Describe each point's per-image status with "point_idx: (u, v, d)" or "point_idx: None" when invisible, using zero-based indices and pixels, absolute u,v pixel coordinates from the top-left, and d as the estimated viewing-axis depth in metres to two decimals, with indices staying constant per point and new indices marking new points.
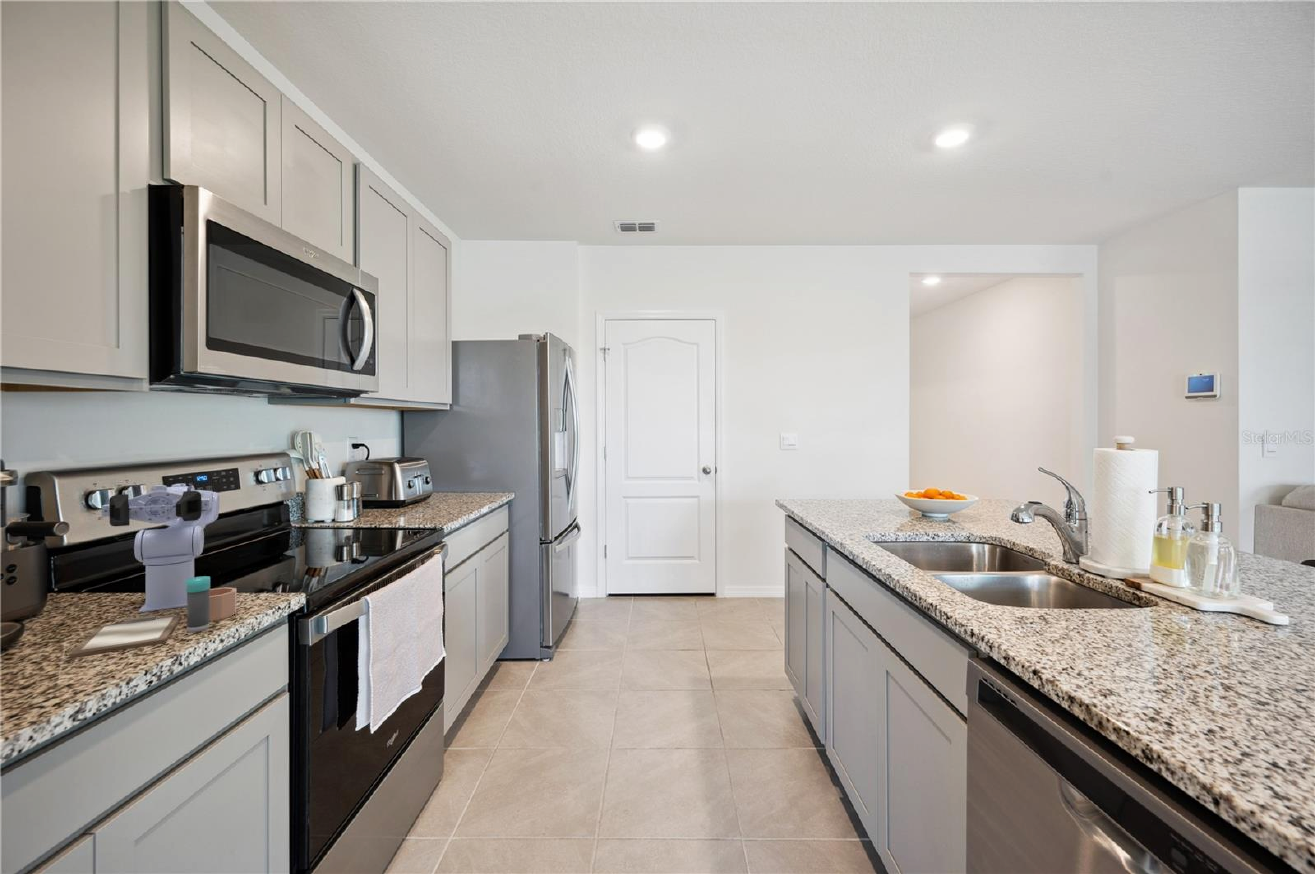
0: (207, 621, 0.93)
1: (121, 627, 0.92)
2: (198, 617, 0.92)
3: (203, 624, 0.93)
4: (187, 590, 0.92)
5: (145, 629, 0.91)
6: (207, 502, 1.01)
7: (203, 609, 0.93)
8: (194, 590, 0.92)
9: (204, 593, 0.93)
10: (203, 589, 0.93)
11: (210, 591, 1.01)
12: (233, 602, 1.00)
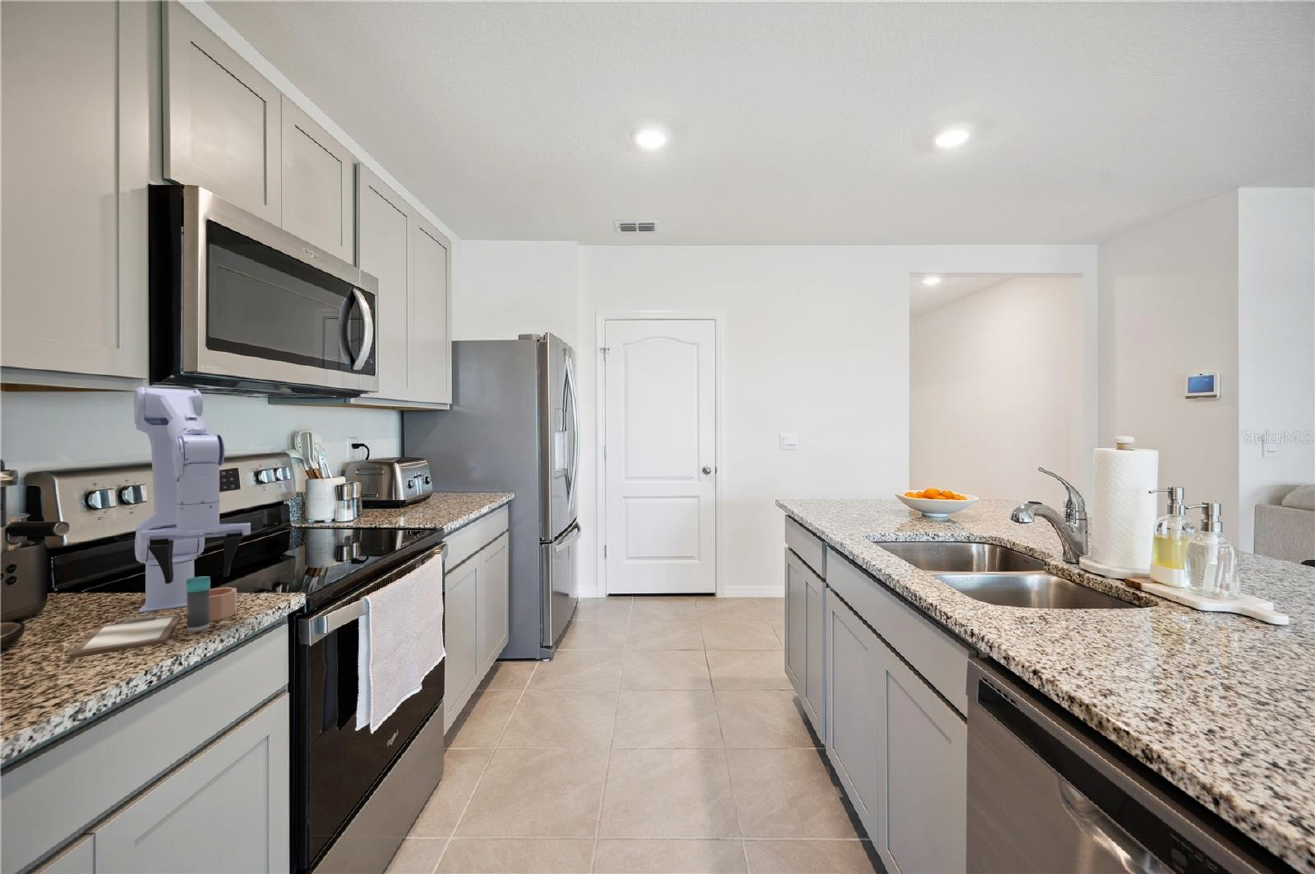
0: (207, 621, 0.93)
1: (121, 627, 0.92)
2: (198, 617, 0.92)
3: (203, 624, 0.93)
4: (187, 590, 0.92)
5: (145, 629, 0.91)
6: None
7: (203, 609, 0.93)
8: (194, 590, 0.92)
9: (204, 593, 0.93)
10: (203, 589, 0.93)
11: (210, 591, 1.01)
12: (233, 602, 1.00)
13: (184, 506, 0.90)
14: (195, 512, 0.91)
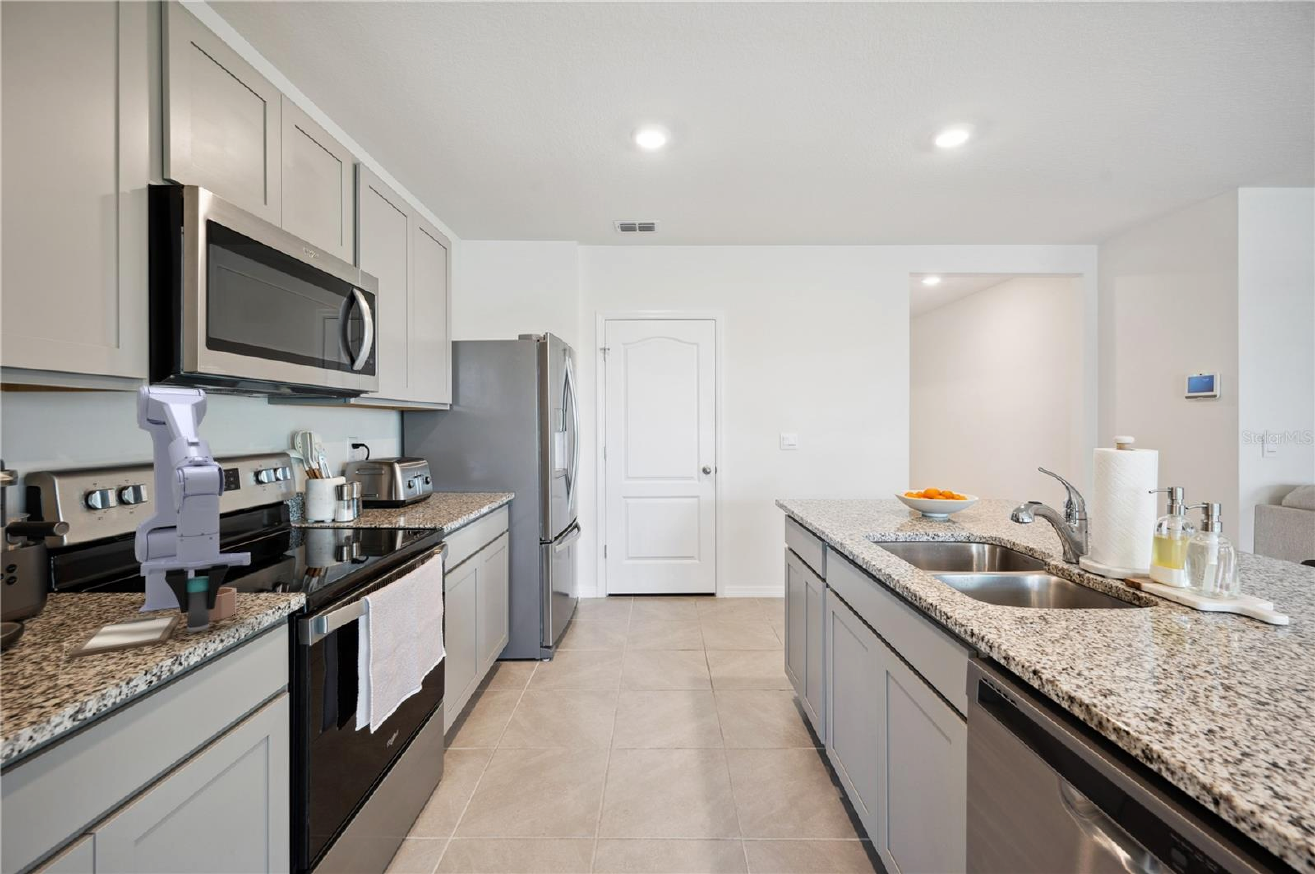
0: (207, 621, 0.93)
1: (121, 627, 0.92)
2: (198, 617, 0.92)
3: (203, 624, 0.93)
4: (187, 590, 0.92)
5: (145, 629, 0.91)
6: None
7: (203, 609, 0.93)
8: (194, 590, 0.92)
9: (204, 593, 0.93)
10: (203, 589, 0.93)
11: None
12: (233, 602, 1.00)
13: (184, 538, 0.90)
14: (194, 544, 0.91)
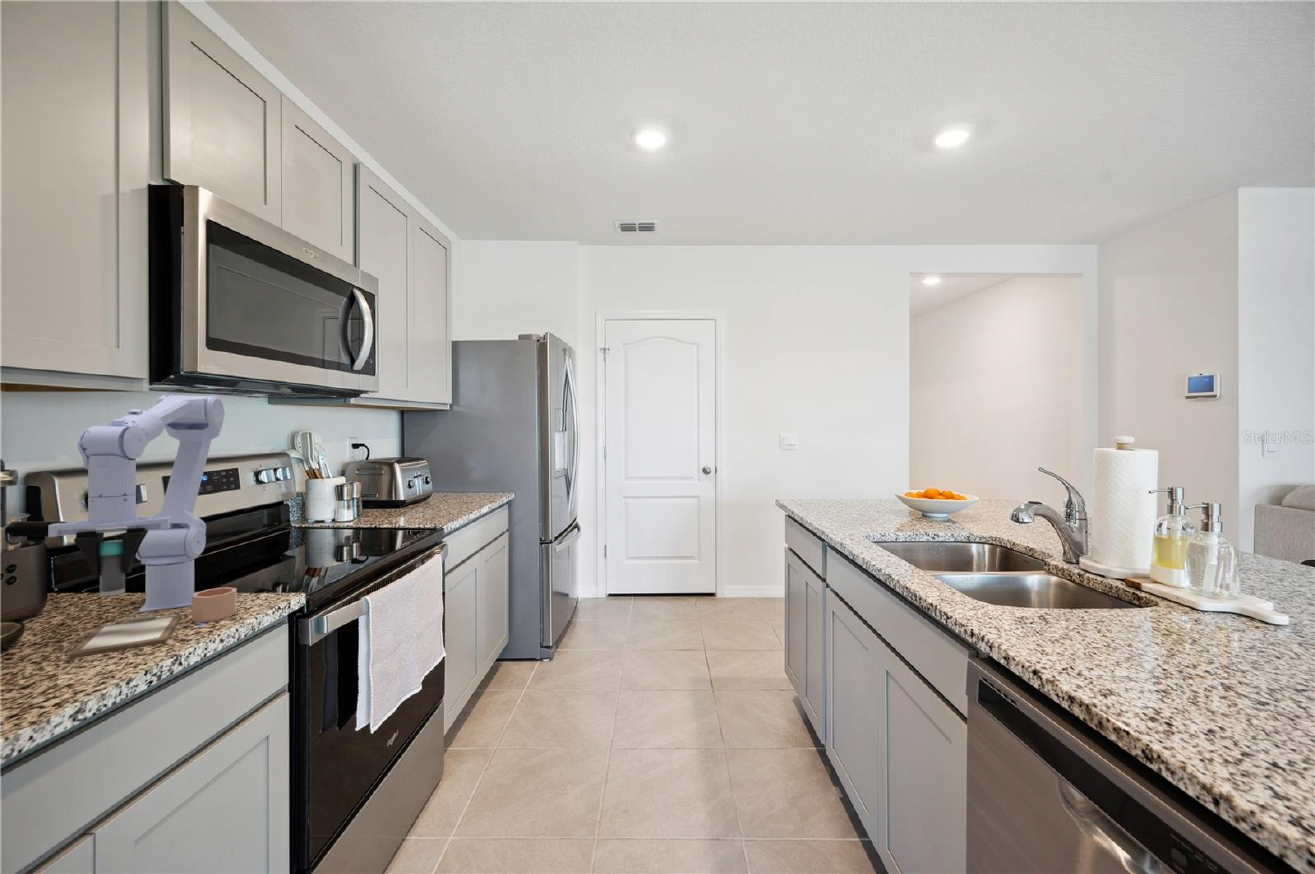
0: (122, 585, 0.91)
1: (121, 627, 0.92)
2: (112, 581, 0.89)
3: (117, 588, 0.90)
4: (100, 553, 0.89)
5: (145, 629, 0.91)
6: None
7: (117, 573, 0.90)
8: (107, 553, 0.89)
9: (118, 557, 0.90)
10: (117, 552, 0.90)
11: (210, 591, 1.01)
12: (233, 602, 1.00)
13: (95, 499, 0.88)
14: (106, 505, 0.88)
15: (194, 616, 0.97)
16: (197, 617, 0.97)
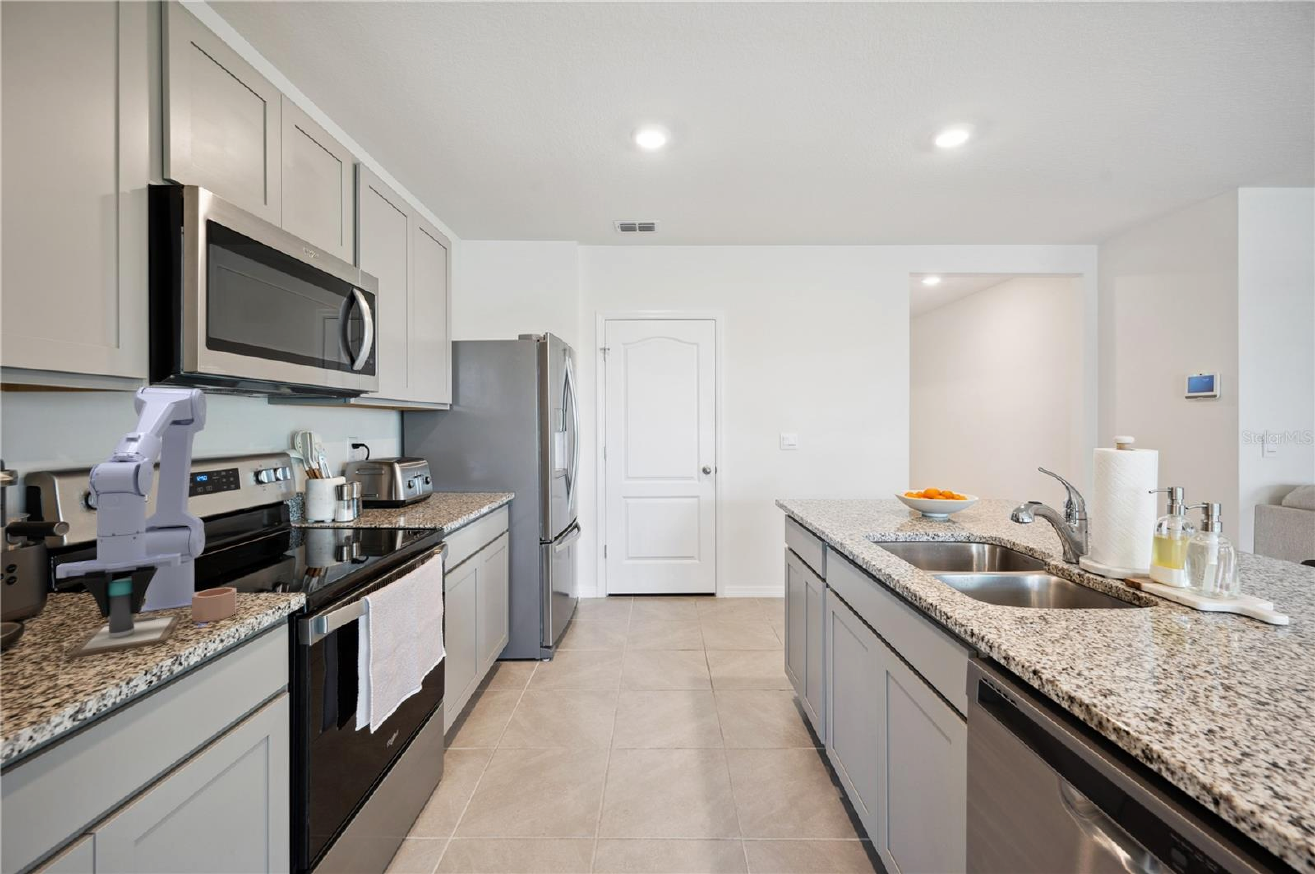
0: (131, 626, 0.88)
1: None
2: (121, 622, 0.87)
3: (126, 629, 0.88)
4: (109, 593, 0.87)
5: (145, 629, 0.91)
6: None
7: (126, 613, 0.88)
8: (116, 593, 0.87)
9: (127, 596, 0.88)
10: (126, 592, 0.87)
11: (210, 591, 1.01)
12: (233, 602, 1.00)
13: (104, 538, 0.85)
14: (116, 544, 0.86)
15: (194, 616, 0.97)
16: (197, 617, 0.97)
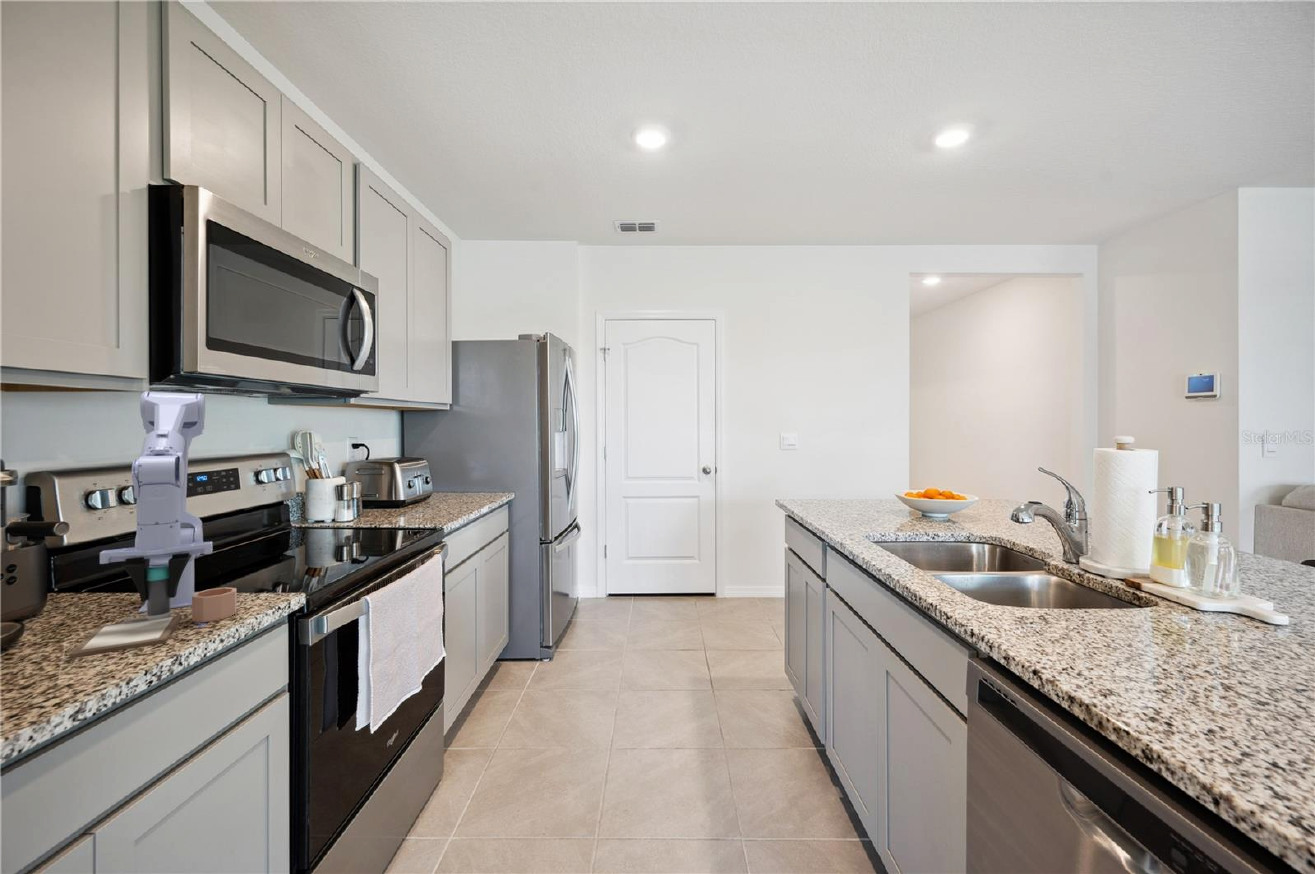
0: (168, 609, 0.94)
1: (121, 627, 0.92)
2: (159, 605, 0.93)
3: (163, 612, 0.93)
4: (147, 578, 0.92)
5: (145, 629, 0.91)
6: None
7: (163, 597, 0.93)
8: (154, 578, 0.92)
9: (164, 581, 0.93)
10: (163, 577, 0.93)
11: (210, 591, 1.01)
12: (233, 602, 1.00)
13: (143, 527, 0.91)
14: (154, 532, 0.91)
15: (194, 616, 0.97)
16: (197, 617, 0.97)
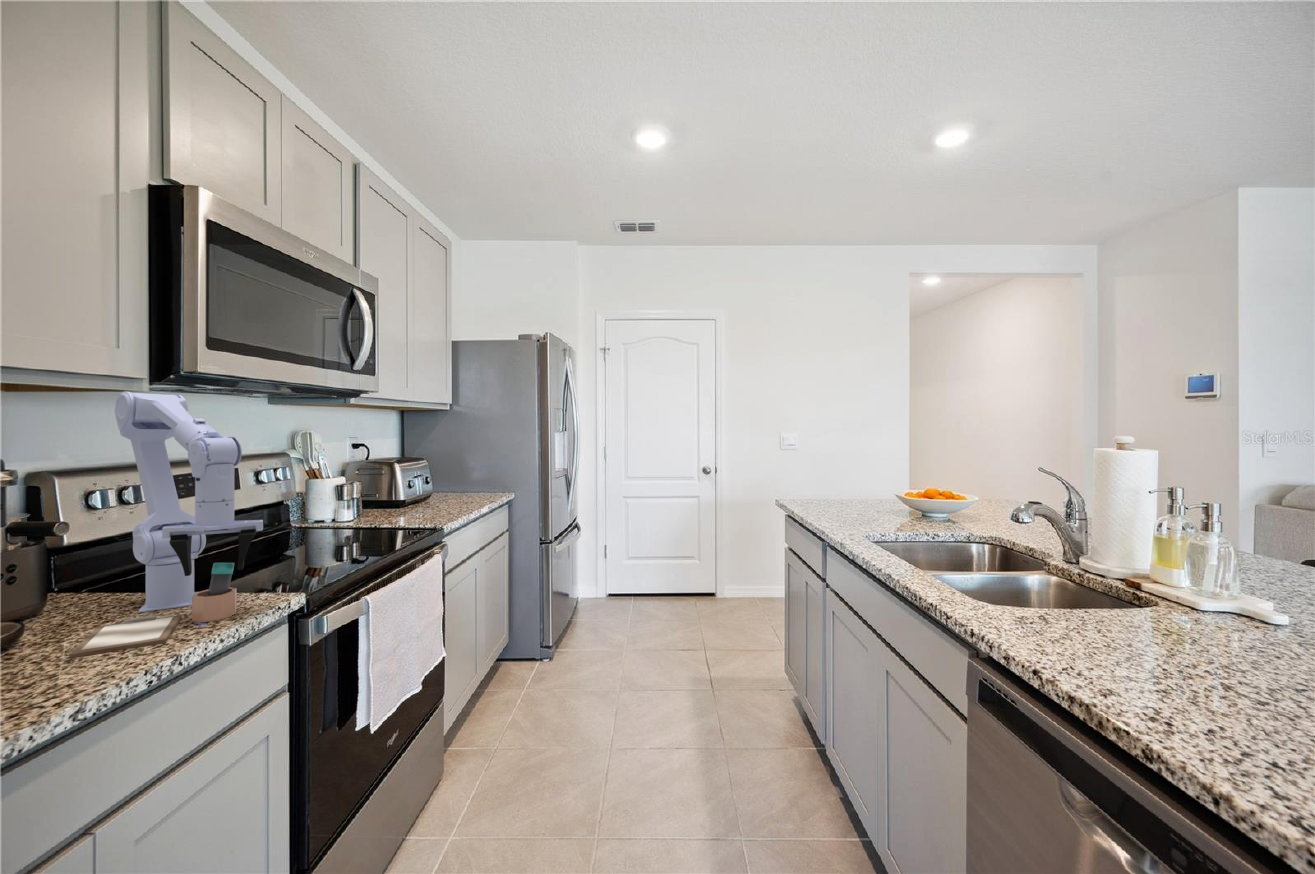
0: None
1: (121, 627, 0.92)
2: None
3: None
4: (212, 572, 1.00)
5: (145, 629, 0.91)
6: None
7: (223, 591, 1.00)
8: (219, 572, 1.00)
9: (227, 576, 1.01)
10: (227, 572, 1.01)
11: None
12: (233, 602, 1.00)
13: (202, 504, 0.97)
14: (212, 509, 0.97)
15: (194, 616, 0.97)
16: (197, 617, 0.97)
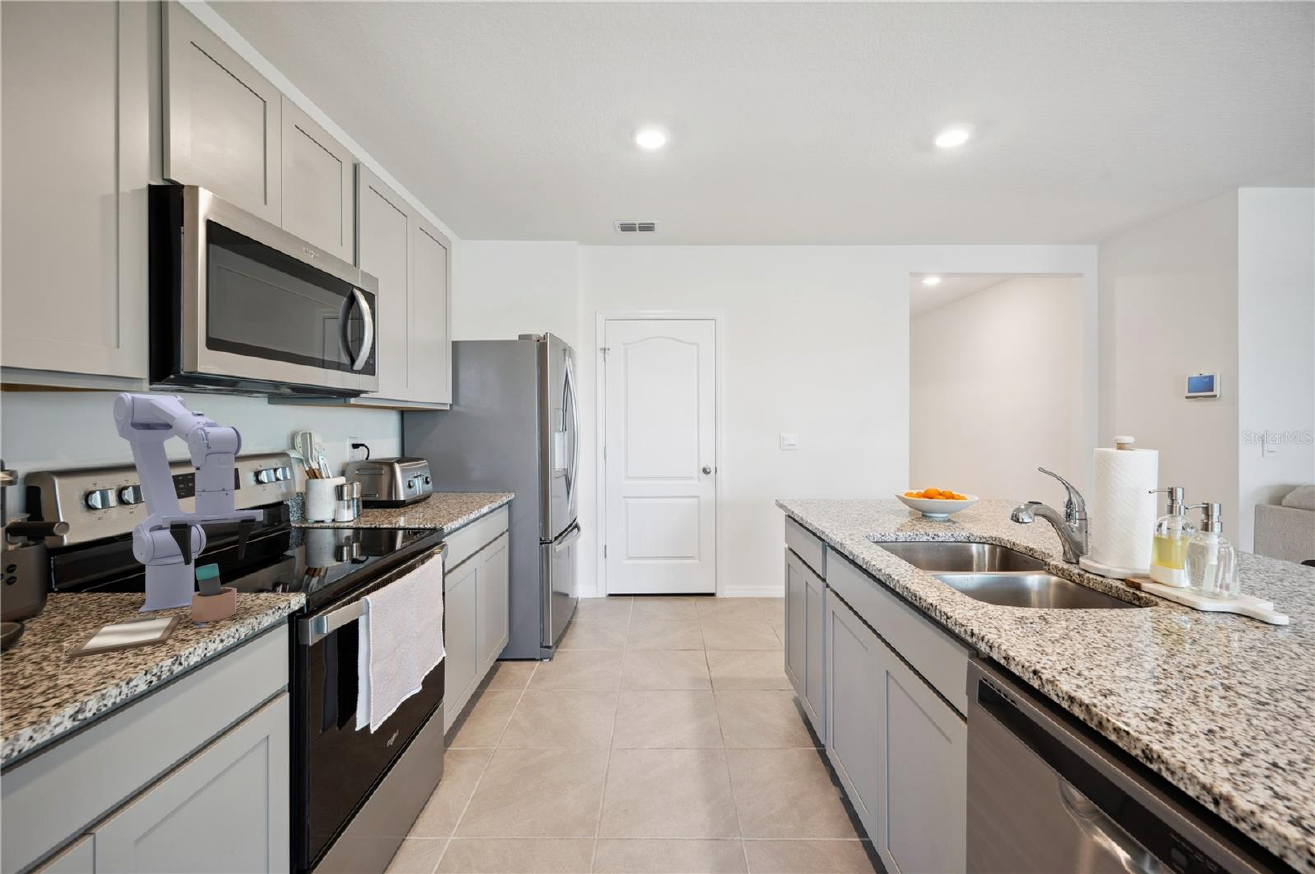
0: None
1: (121, 627, 0.92)
2: None
3: None
4: (198, 578, 0.98)
5: (145, 629, 0.91)
6: None
7: (216, 593, 0.99)
8: (205, 577, 0.98)
9: (214, 579, 0.99)
10: (213, 575, 0.99)
11: None
12: (233, 602, 1.00)
13: (202, 493, 0.97)
14: (212, 498, 0.97)
15: (194, 616, 0.97)
16: (197, 617, 0.97)
